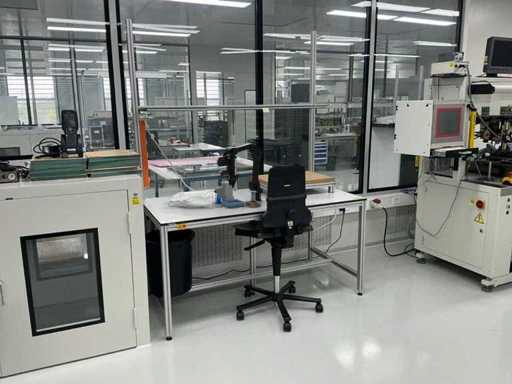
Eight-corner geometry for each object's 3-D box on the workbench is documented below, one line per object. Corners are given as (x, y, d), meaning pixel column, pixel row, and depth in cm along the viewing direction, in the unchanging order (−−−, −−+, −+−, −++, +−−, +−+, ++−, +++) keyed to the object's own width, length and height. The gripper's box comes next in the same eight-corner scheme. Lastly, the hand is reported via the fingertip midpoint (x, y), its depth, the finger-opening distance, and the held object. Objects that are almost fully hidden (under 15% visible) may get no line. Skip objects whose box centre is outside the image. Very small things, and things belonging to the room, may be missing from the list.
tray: (236, 202, 310) (236, 198, 310) (244, 205, 302) (244, 201, 301) (221, 205, 303) (221, 201, 302) (229, 208, 294) (229, 204, 294)
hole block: (254, 204, 307) (254, 200, 307) (260, 206, 301) (260, 202, 300) (245, 205, 303) (245, 201, 302) (251, 207, 296) (251, 203, 296)
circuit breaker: (213, 201, 315) (213, 181, 312) (232, 200, 319) (231, 180, 315) (214, 203, 308) (214, 183, 305) (234, 202, 311) (233, 182, 308)
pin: (253, 204, 304) (253, 190, 302) (257, 206, 301) (257, 191, 299) (249, 205, 302) (249, 191, 300) (252, 206, 299) (252, 192, 297)
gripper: (217, 163, 303) (217, 184, 306) (222, 167, 285) (222, 190, 289) (232, 163, 306) (232, 183, 309) (238, 166, 288) (238, 189, 292)
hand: (231, 186), depth 300 cm, fingers open, 9 cm apart
